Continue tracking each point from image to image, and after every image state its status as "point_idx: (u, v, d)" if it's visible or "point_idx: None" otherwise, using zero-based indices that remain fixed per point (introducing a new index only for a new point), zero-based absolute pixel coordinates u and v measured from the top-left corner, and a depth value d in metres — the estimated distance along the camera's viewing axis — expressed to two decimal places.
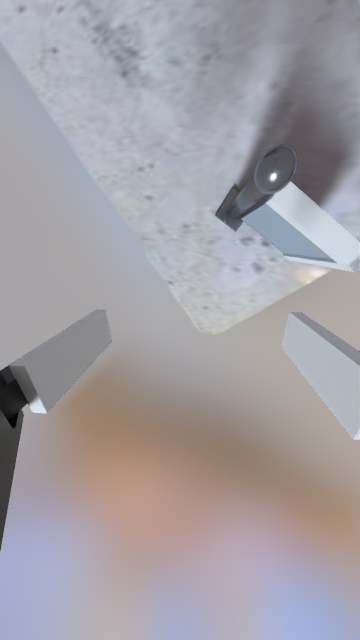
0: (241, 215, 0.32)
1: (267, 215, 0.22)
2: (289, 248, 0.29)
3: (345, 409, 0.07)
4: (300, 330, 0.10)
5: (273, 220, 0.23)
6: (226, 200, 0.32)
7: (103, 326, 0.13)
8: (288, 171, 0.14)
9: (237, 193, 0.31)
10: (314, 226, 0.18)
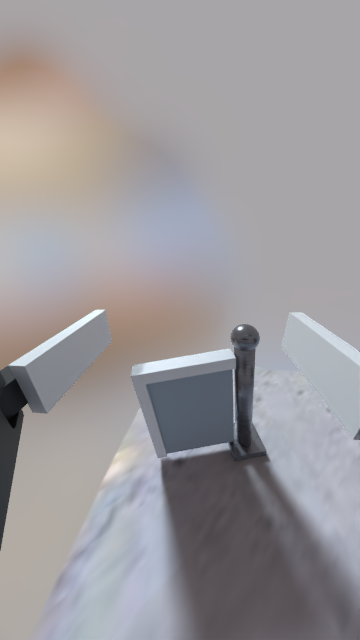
0: None
1: None
2: None
3: (345, 409, 0.07)
4: (300, 330, 0.10)
5: None
6: (257, 437, 0.28)
7: (103, 326, 0.13)
8: (238, 328, 0.20)
9: (257, 450, 0.26)
10: (190, 358, 0.22)
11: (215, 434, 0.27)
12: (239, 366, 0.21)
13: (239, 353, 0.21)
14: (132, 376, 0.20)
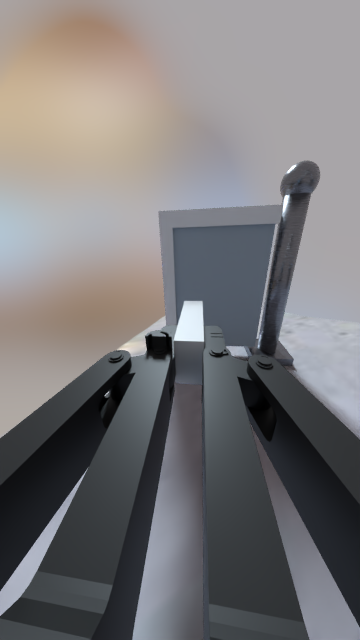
0: (254, 347, 0.25)
1: None
2: None
3: None
4: None
5: None
6: (284, 349, 0.24)
7: None
8: None
9: (282, 357, 0.22)
10: None
11: (235, 330, 0.23)
12: (284, 223, 0.18)
13: (289, 199, 0.17)
14: (160, 212, 0.18)
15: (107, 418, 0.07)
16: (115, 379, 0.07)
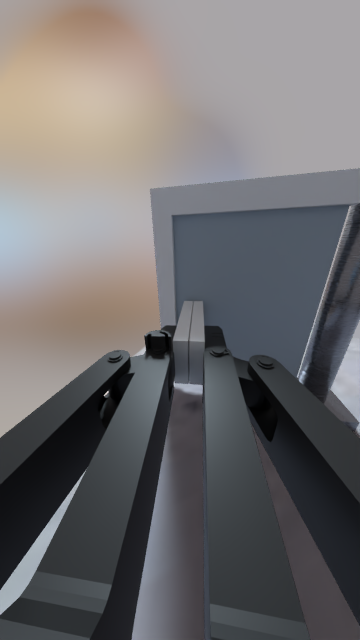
0: None
1: None
2: None
3: None
4: None
5: None
6: (337, 400, 0.16)
7: None
8: None
9: (340, 418, 0.14)
10: None
11: None
12: None
13: None
14: (153, 190, 0.12)
15: (106, 418, 0.07)
16: (114, 379, 0.07)
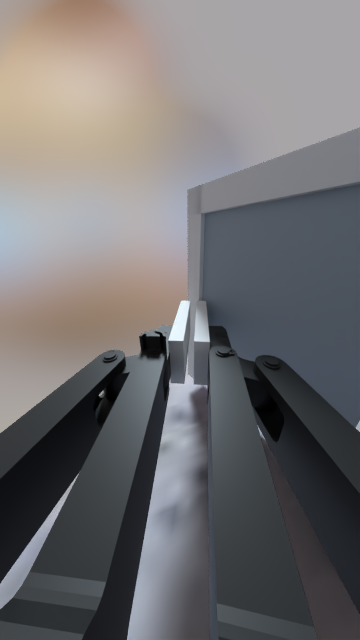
0: None
1: None
2: None
3: None
4: None
5: None
6: None
7: None
8: None
9: None
10: None
11: None
12: None
13: None
14: (189, 191, 0.12)
15: (102, 418, 0.07)
16: (109, 379, 0.07)
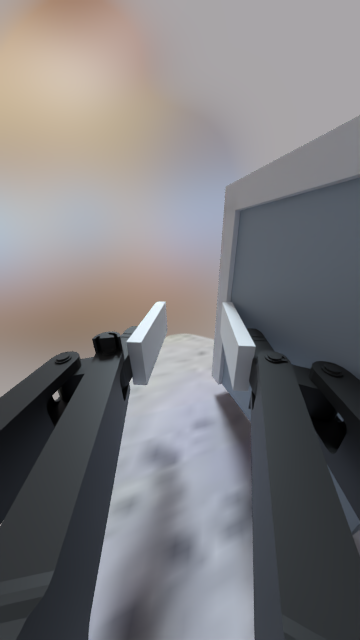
0: None
1: None
2: None
3: (231, 370, 0.09)
4: (224, 315, 0.13)
5: None
6: None
7: (164, 316, 0.14)
8: None
9: None
10: None
11: None
12: None
13: None
14: (227, 187, 0.12)
15: (58, 420, 0.07)
16: (63, 379, 0.07)
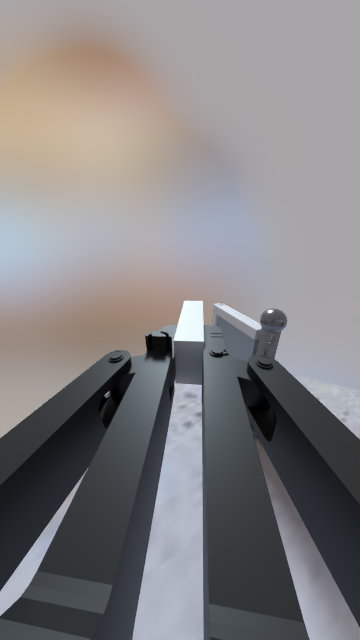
0: None
1: None
2: None
3: None
4: None
5: None
6: None
7: None
8: (268, 310, 0.23)
9: None
10: (241, 315, 0.30)
11: None
12: (262, 346, 0.24)
13: (265, 333, 0.23)
14: (213, 304, 0.35)
15: (107, 418, 0.07)
16: (115, 379, 0.07)
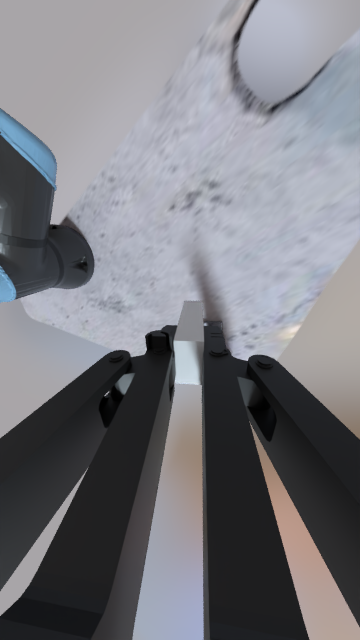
0: None
1: None
2: None
3: None
4: None
5: None
6: None
7: None
8: None
9: (208, 324, 0.47)
10: None
11: None
12: None
13: None
14: None
15: (107, 418, 0.07)
16: (115, 379, 0.07)
